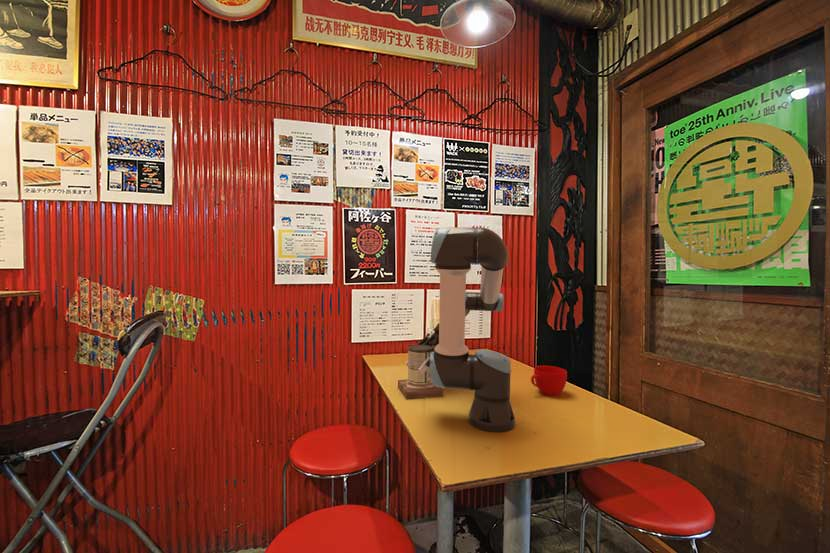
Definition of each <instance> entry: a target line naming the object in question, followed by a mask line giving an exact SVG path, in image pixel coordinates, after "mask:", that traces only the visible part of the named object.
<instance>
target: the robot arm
mask: <svg viewBox="0 0 830 553" xmlns="http://www.w3.org/2000/svg"><path fill="white" fill-rule="evenodd" d="M508 250H509V249H508V246H507V245H506V243H505V241H504V239H503V238H501V236H500V235H499V234H498V233H496V232H495V231H493V230H492V229H490V228H486V227H455V226H454V227H453V226H449V227H439V228H437V229H436V230H435V232H434V234H433V238H432V242H431V249H430V263H431V264H434V265H435V266H434V269H435V270H436V272H438V273H439V305H438V306H439V307H438V308H439V310H438V312H439V314H438V316H439V318H438V320H439V321H438V323H437V325H436V326H435V327H434V329H433V330H434V332H433V333H432V334H430V333H427V334H425V337H424V338H422V339H421V340H420V341H419V342H418V343H417V344H416V345H428V346H432V347H433V349H432V352H431V354H430V356H429V357H430V358H429V357H428V358H427V359H426V360H425V362H424V363H423V364H422V365H421V367H420V368H419V369H418V370H419V371H420V372H421V373H422V374H424V373H425V371H426V370H427V369H428V367H430V374H431V379H432V382H433V384H434V385H435V386H436V387H441V388H442V389H451V390H453V389H455V390H466V391H474V393H473V394H474V398H473V400H472V402H471V405H470V409H469V412H468V423H469V424H470V425H472V426H473V427H475V428H477V429H479V430H482V431H485V432H486V431H487V432H493V433H495V432H496V433H502V432H509V431H511V430H513V429H514V428H515V426H516V424H515V423H516V417H515V414H514V410H513V408H512V403H511V373H512V369H511V364H512V363H511V360H510V358H509V357H508V356H507V355H505V354H503V353H500V352H498V351H493V350H489V349H477V350H476V351H475V352H474V354H470V350H469V349H470V348H468V346H467V345H466V344H465V340H466V339H465V338H466V335H465V334H466V333H465V332H466V330H465V328H466V317H467V316H468V315H469V314H470V311H482V312H502V311H503V310H504V304H505V302H504V300H505V299H504V294H503V293H501V288H502V287H501V286H502V281H503V275H504V269H505V267H506V266H507V265H508V261H509V251H508ZM472 264H473V265H477V264H478V265H479V264H480V267H481V269H480V272H481V273H480V290H479V292H475V291H473V292H472V291H470V292H469V291H467V289H466V287H467V281H466V280H467V274H468V273H469V272H470V270H472V268H471V267H472ZM404 364H405V365H406V366H407V367H408V359H407V360H406V362H405V363H404Z"/></svg>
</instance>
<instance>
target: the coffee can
mask: <svg viewBox="0 0 830 553" xmlns="http://www.w3.org/2000/svg"><path fill="white" fill-rule="evenodd" d="M407 349H408V350H407V352H408V354H407V356H408V357H407V360H408V366H407V379H408V382H409V383H412V384H417V385H424V384H429V383H431V382H432V379H431V374H430V367H428V369H427V370H426V371H425V373H424V374H422V373H421V372H420V371H419V370H418V369H419V368H420V367H421V365H422V364H423V363H424V362H425V360H426V359H427V358H428V357H429V356H430V354H431V352H432V349H433V346H428V345H417V344H413V345H409V346H408V347H407ZM429 358H430V357H429Z"/></svg>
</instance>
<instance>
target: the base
mask: <svg viewBox="0 0 830 553" xmlns="http://www.w3.org/2000/svg"><path fill="white" fill-rule="evenodd" d="M397 388H398V390H399V391H400V392H401V394H402V395H403V397H404V398H405V399H406V400H415V399H417V400H418V399H425V398H426V399H428V398H429V399H430V398H439V397H440V398H441V397H443V396H444V388H441V387H436V386H435V385H434V384H433V382H431V383H429V384H424V385H417V384H412V383H409V382H408V378H407V379H398V380H397Z"/></svg>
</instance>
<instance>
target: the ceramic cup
mask: <svg viewBox="0 0 830 553" xmlns="http://www.w3.org/2000/svg"><path fill="white" fill-rule="evenodd" d="M567 379H568V371H567V369H564V368H562V367H558V366H553V365H537V366H536V365H535V367H534V368H533V374H532V375H531V377H530V381H531V383H532V385H533V386H534V387H536V388H537V389H538V390H539V391H540V392H542V393H543V395H544V394H545V396H548V397H557V396H559V395H560V394H561V393H562V392H563V391H564V389H565V387H566V384H567ZM542 393H541V394H542Z"/></svg>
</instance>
